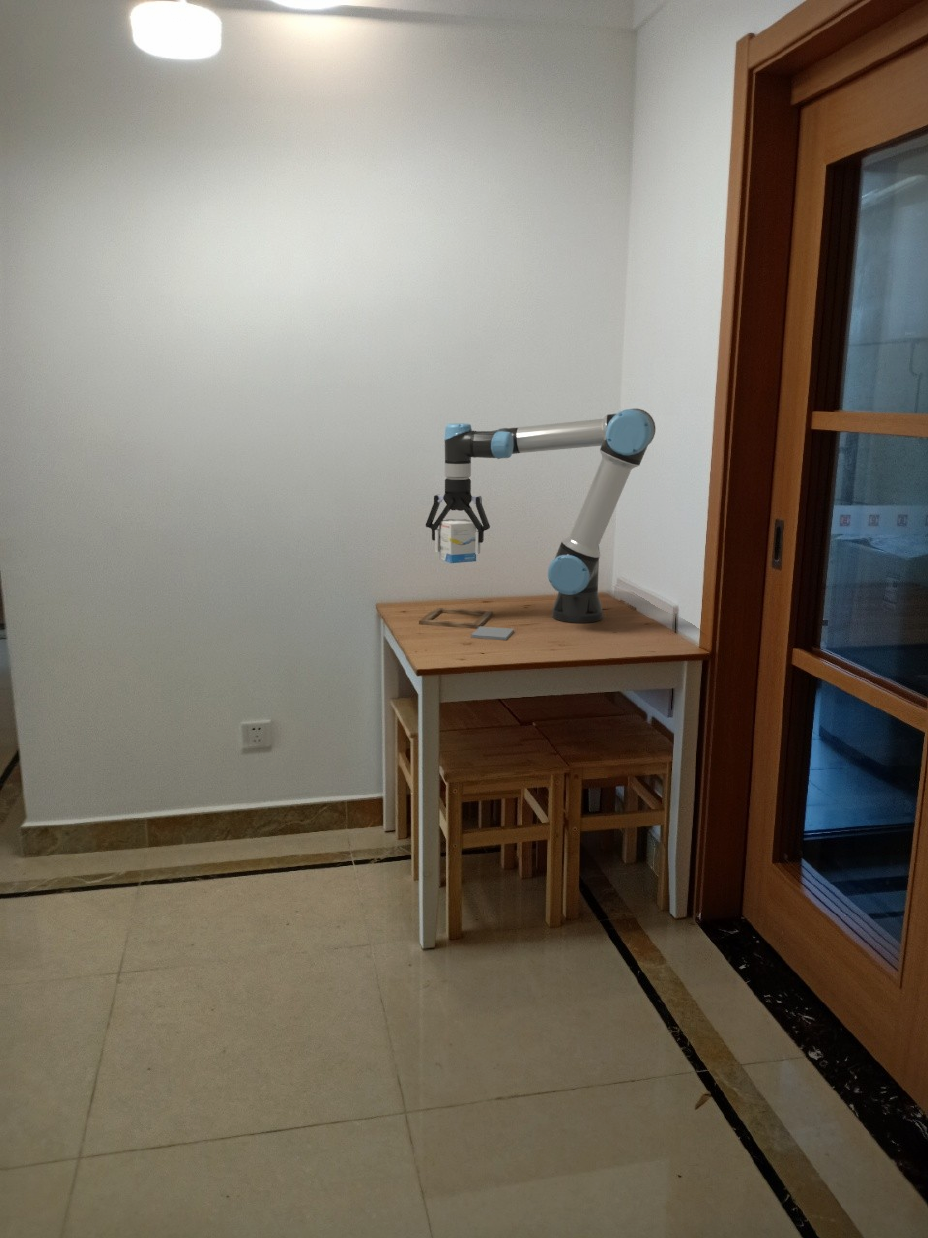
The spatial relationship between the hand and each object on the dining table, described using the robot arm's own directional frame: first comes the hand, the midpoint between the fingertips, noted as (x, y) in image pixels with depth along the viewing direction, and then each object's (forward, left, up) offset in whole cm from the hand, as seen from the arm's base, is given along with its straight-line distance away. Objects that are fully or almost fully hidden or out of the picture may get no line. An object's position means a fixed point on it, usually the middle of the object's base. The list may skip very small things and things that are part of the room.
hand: (457, 552), depth 297 cm
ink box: (0, 0, -2) cm, 2 cm away
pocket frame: (0, 0, -20) cm, 20 cm away
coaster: (-14, +15, -20) cm, 29 cm away
